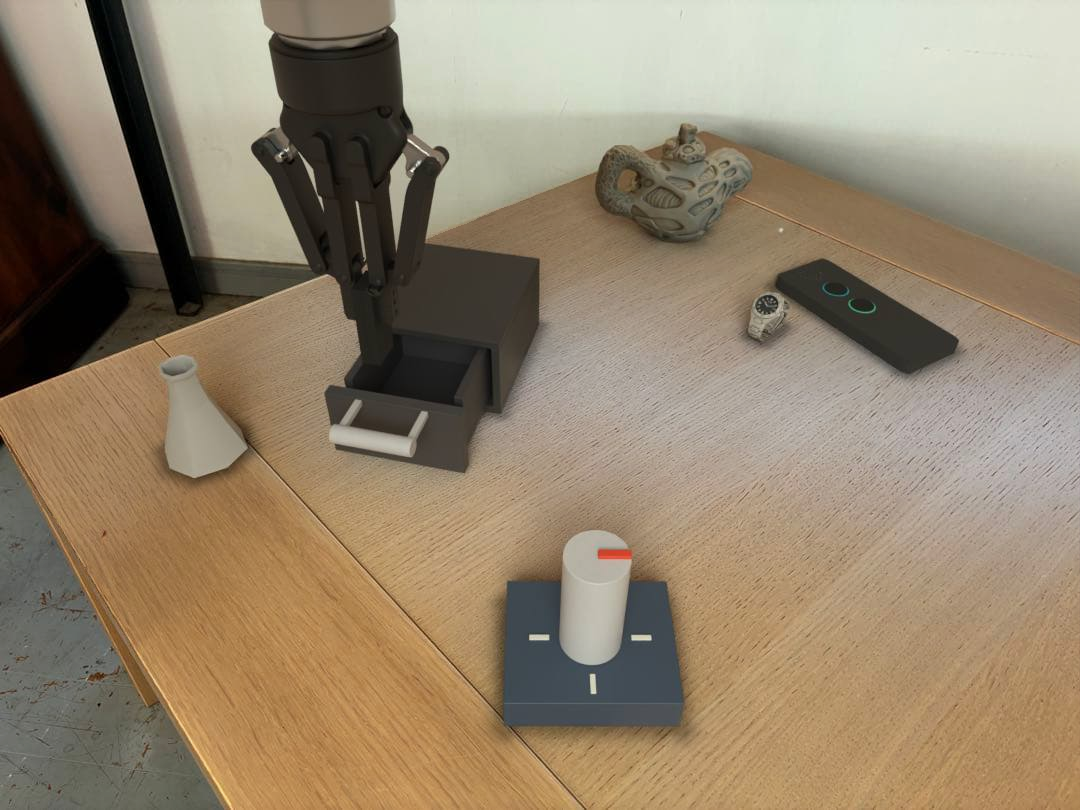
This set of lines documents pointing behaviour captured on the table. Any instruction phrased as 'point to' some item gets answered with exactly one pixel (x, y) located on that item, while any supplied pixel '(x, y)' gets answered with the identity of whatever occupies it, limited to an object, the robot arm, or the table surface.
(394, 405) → the open drawer with handle
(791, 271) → the smart home device
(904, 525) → the table surface
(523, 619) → the timer panel
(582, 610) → the timer knob
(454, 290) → the drawer cabinet
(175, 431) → the flask
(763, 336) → the wristwatch
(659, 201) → the teapot
